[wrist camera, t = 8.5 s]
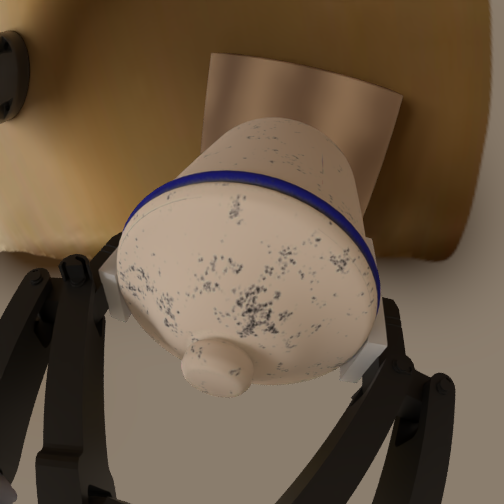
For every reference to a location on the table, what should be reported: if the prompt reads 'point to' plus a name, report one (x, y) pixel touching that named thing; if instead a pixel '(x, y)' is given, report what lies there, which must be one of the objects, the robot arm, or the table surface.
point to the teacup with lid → (253, 261)
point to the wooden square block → (304, 108)
